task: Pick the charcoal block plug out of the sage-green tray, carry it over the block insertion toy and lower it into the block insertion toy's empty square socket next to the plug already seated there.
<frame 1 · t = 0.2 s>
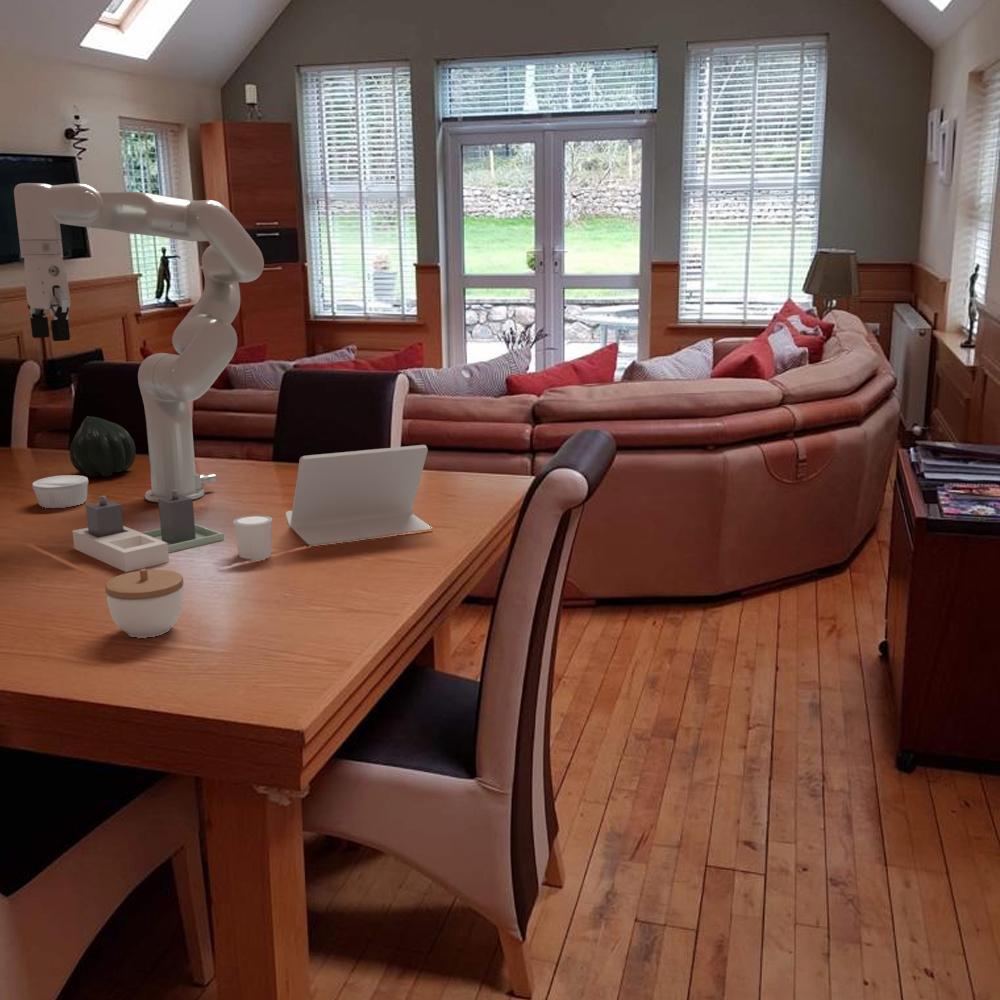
hand: (51, 339, 206), 36 cm above the table, tool pointing down, fingers open, 9 cm apart
squash: (105, 474, 255), on the table
tray: (179, 543, 196), on the table
lidded jar: (149, 632, 153), on the table
block insertion toy: (121, 558, 187), on the table
white cup: (255, 558, 188), on the table
plug: (178, 540, 196), point 1 cm above the table, touching tray
ramekin: (63, 505, 226), on the table
tablet stand: (358, 529, 206), on the table
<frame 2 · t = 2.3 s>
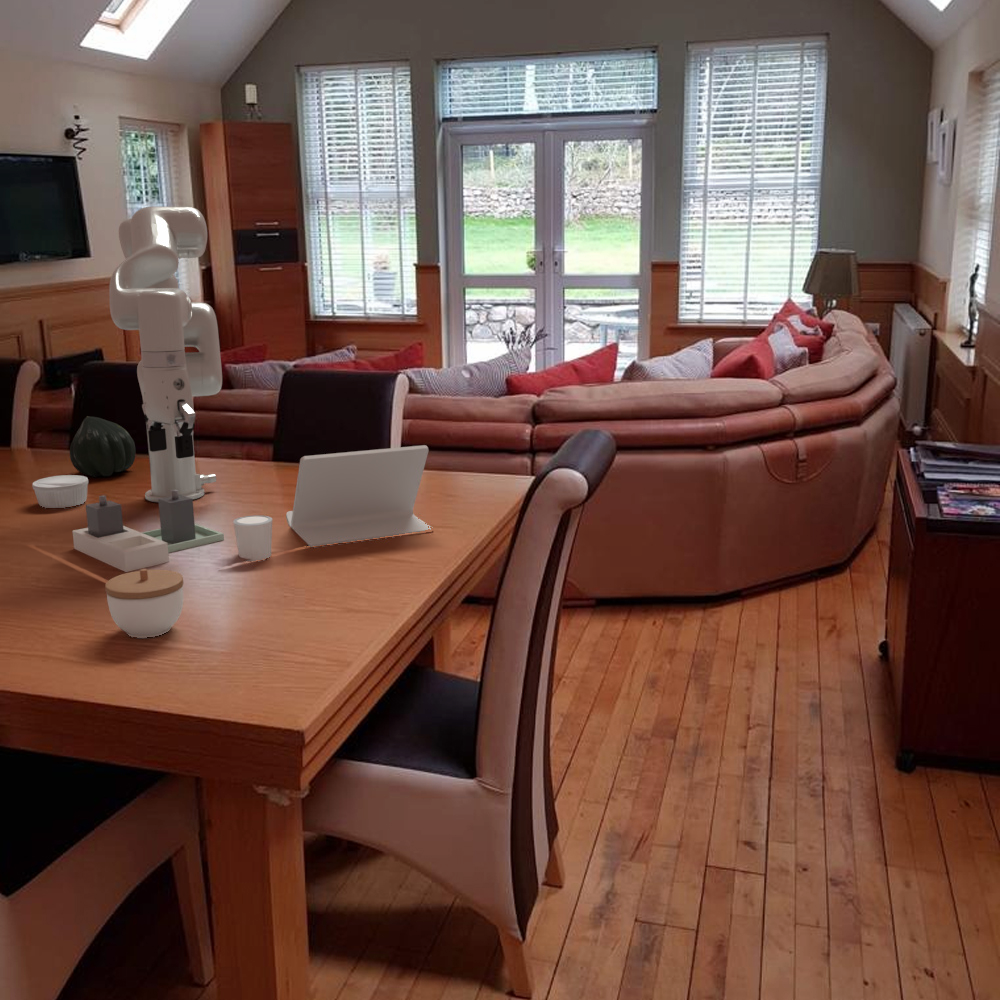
hand: (171, 453, 192), 17 cm above the table, tool pointing down, fingers open, 9 cm apart
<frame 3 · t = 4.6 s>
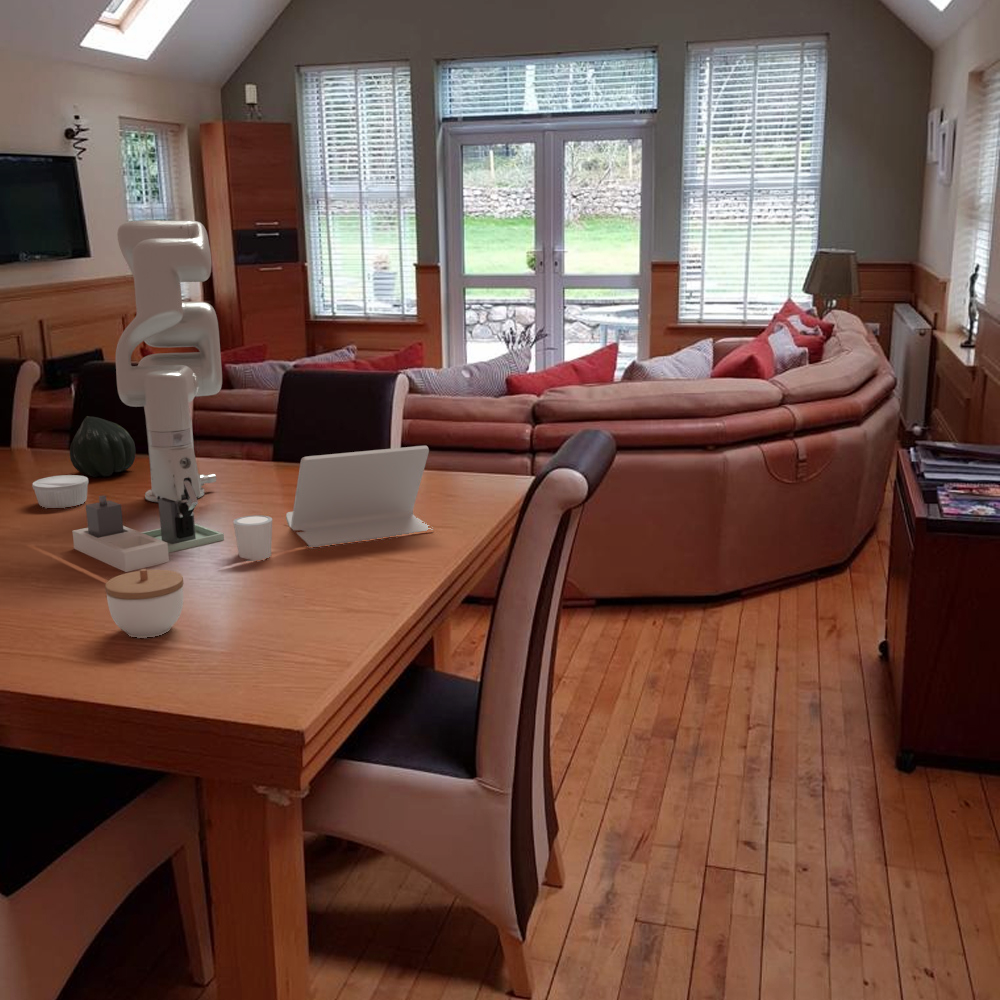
hand: (178, 533, 196), 2 cm above the table, tool pointing down, fingers closed on plug, 4 cm apart
plug: (178, 540, 196), point 1 cm above the table, touching gripper, tray
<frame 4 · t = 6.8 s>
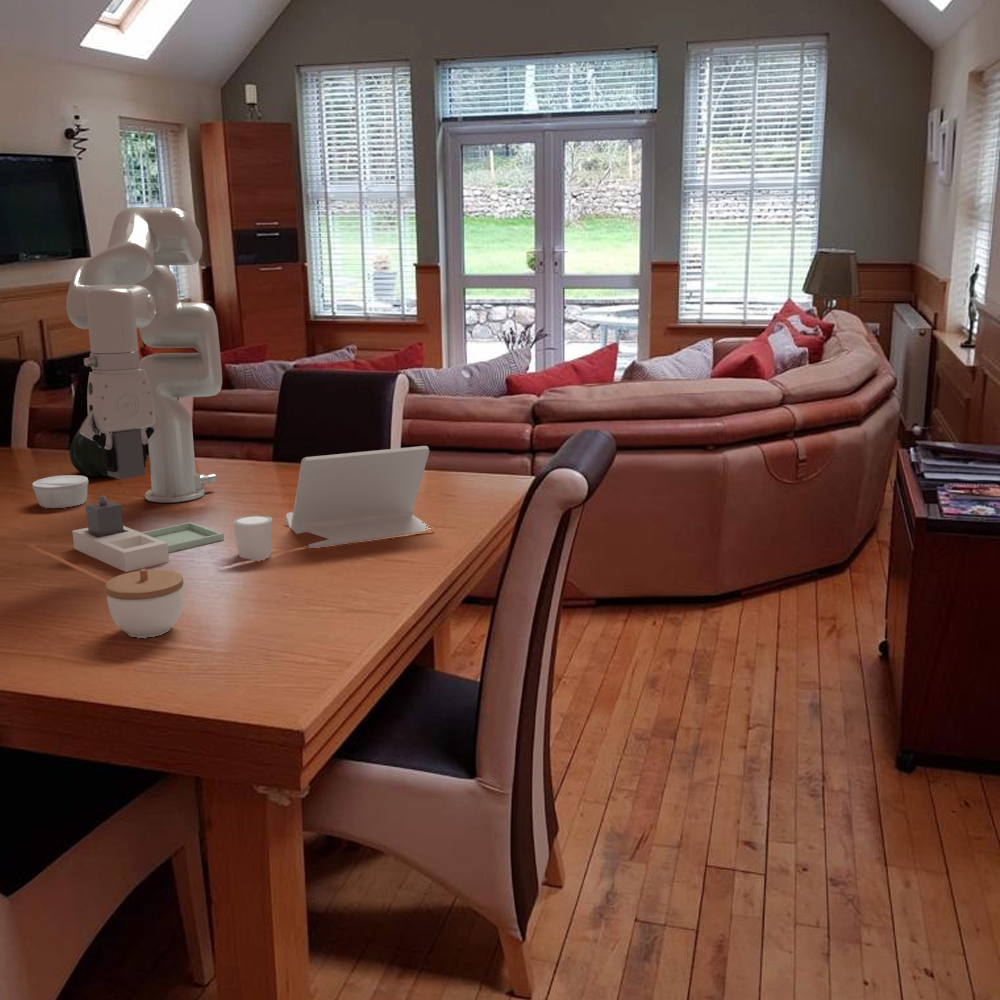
hand: (125, 467, 180), 17 cm above the table, tool pointing down, fingers closed on plug, 4 cm apart
plug: (126, 475, 180), point 16 cm above the table, touching gripper
when the fingers open (4 cm above the table, at t = 9.3 s): plug drops 2 cm, resting on block insertion toy.
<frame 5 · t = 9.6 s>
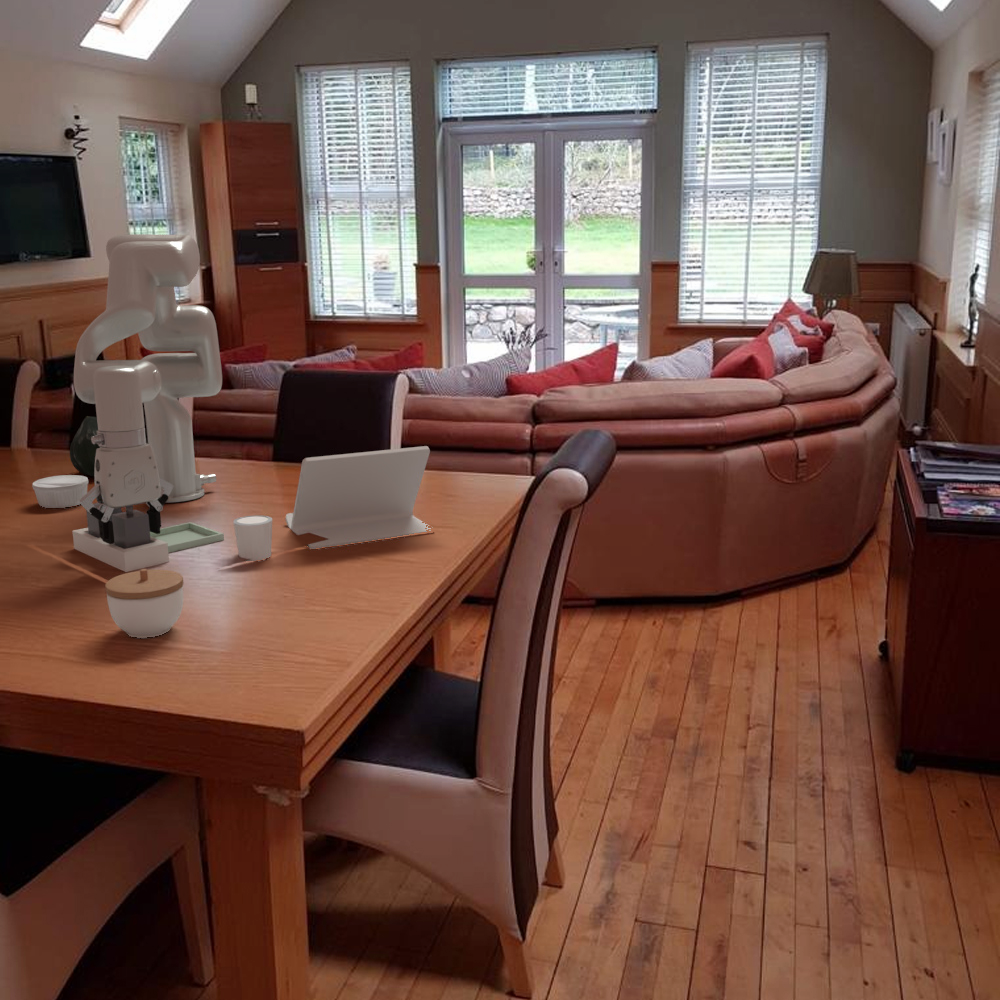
hand: (131, 536, 183), 5 cm above the table, tool pointing down, fingers open, 8 cm apart
plug: (134, 558, 184), point 1 cm above the table, touching block insertion toy
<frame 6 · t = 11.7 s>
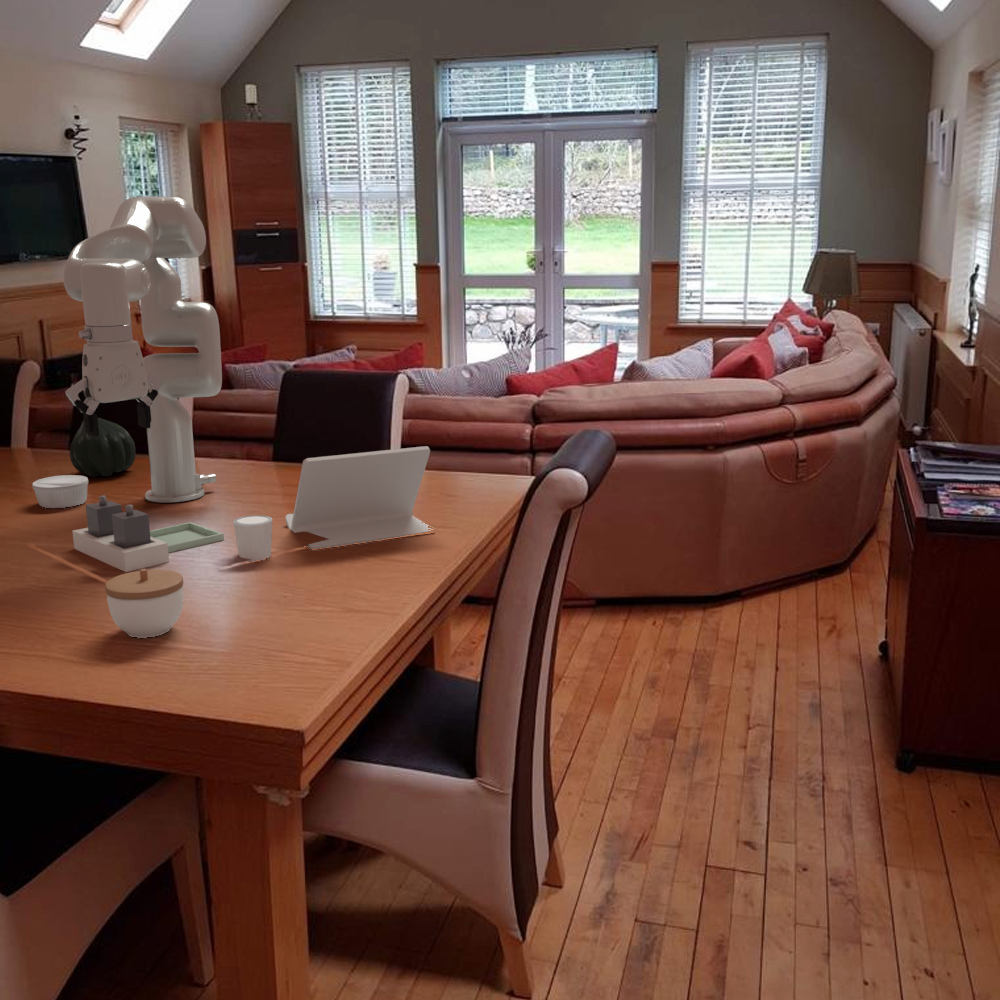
hand: (119, 431, 186), 22 cm above the table, tool pointing down, fingers open, 9 cm apart
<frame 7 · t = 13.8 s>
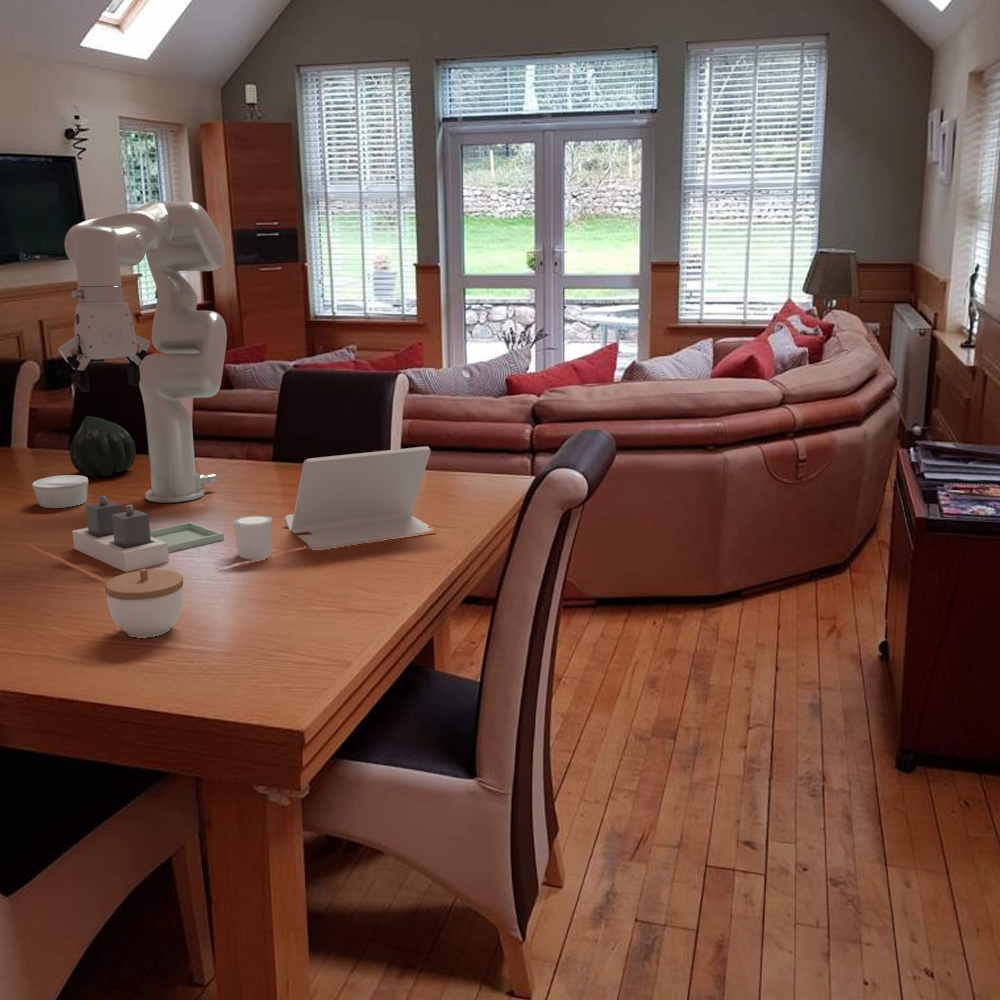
hand: (109, 388, 196), 28 cm above the table, tool pointing down, fingers open, 9 cm apart
at the end: plug 0.1 cm from the target spot on the block insertion toy, point 1.0 cm above the block insertion toy's base; plug tilted 0°; the gripper is holding nothing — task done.
